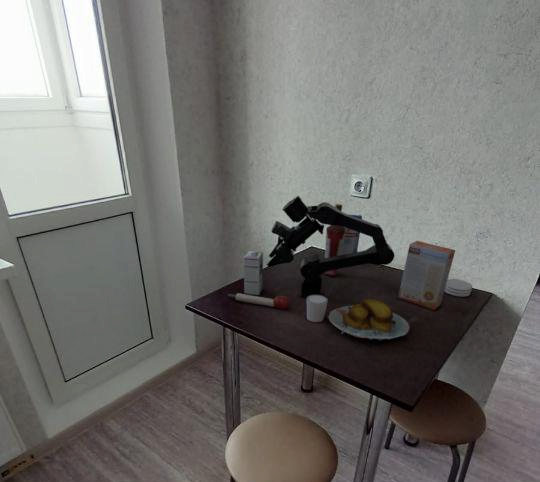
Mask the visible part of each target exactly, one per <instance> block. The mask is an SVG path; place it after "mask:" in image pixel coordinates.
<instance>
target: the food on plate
mask: <svg viewBox="0 0 540 482" xmlns="http://www.w3.org/2000/svg"><path fill="white" fill-rule="evenodd" d="M327 321H329V322H330V324H332V326H334V327H335V328H336V329H338V330H339V331H341V335H343V334H344V333H346V334H347V335H350V336H353V337H354V338H358V339H360V338H361V339H368V340H369V341H370V340H371V341H373V340H374V339H375V340H378V341H384V340H392V339H394V338H395V339H396V338H399V337H404V336H406V335H408V334H409V332H410V331H411V326H410V323H409V321H407V319H405V318H404V317H402V316H400V315H398V314H396V313H394V312H393V310H392V308H391V307H390V306H389V305H388V304H387V303H385V302H383V301H381V300H380V299H379V300H378V299H374V298H364V299H363V300H362V302H359V303H356V304H352V305H346V306H342V307H338V308H335V309H332V310H331V311H329V314H328V315H327Z"/></svg>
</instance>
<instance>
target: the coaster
mask: <svg viewBox="0 0 540 482" xmlns="http://www.w3.org/2000/svg"><path fill="white" fill-rule="evenodd" d="M472 289H473V284H471V283H470V282H468V281H466V280H464V279H458V278H448V279H447V283H446V287H445V290H444V293H446V294H448V295H450V296H453V297H458V298H466V297H469V296H470V295H471V294H472V293H471V292H472Z"/></svg>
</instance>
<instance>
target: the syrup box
mask: <svg viewBox="0 0 540 482" xmlns="http://www.w3.org/2000/svg"><path fill="white" fill-rule="evenodd" d="M263 273H264V252H261V251H253V250H252V251H251V250H248V251H247V253H246V254H245V255H244V256H243V288H244V289H243V290H244V291H243V292H244V293H243V294H245V295H251V296H260V294H261V292H262V291H263V287H264V286H263V285H264V283H263V282H264V279H263V278H264V274H263Z"/></svg>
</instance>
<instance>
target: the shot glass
mask: <svg viewBox="0 0 540 482" xmlns="http://www.w3.org/2000/svg"><path fill="white" fill-rule="evenodd" d="M328 301H329V299H328V298H327V297H326V296H324V295H322V294H321V295H310V296H308V297H307V298H306V319H307V320H308V321H310V322H312V323H321V322H324V319H325V315H326V310H327V306H328Z"/></svg>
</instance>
